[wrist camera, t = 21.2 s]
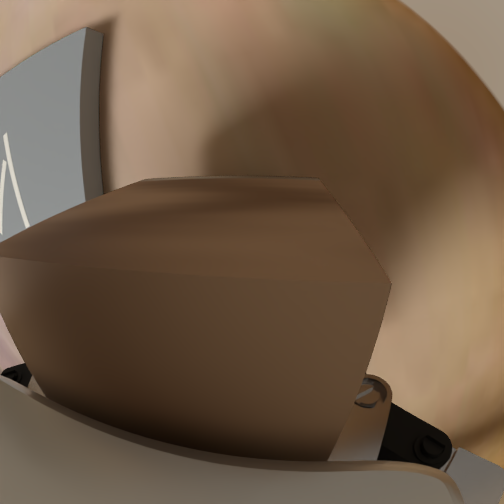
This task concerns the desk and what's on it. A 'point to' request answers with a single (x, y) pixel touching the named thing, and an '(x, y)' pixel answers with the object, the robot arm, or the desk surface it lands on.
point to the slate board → (50, 132)
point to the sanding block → (201, 312)
